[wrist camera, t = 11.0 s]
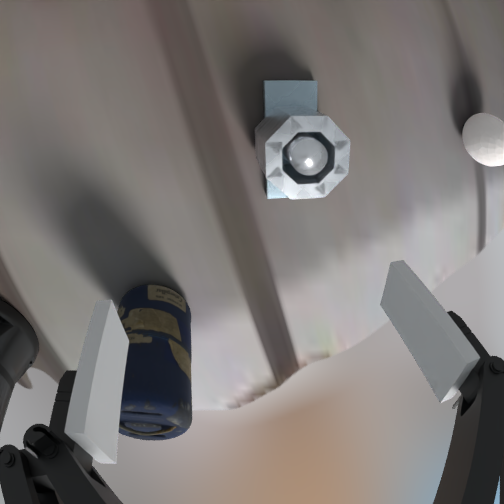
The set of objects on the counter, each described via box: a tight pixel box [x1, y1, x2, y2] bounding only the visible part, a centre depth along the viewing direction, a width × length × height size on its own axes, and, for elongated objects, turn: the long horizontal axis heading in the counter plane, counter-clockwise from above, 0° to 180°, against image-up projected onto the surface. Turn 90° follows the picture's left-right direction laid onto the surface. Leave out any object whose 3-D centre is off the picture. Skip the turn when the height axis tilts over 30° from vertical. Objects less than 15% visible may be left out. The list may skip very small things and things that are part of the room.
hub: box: [255, 106, 350, 199], centre depth 27 cm, size 7×7×6 cm
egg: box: [462, 113, 504, 166], centre depth 28 cm, size 6×6×8 cm
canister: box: [117, 285, 192, 440], centre depth 32 cm, size 10×10×18 cm
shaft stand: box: [263, 80, 328, 199], centre depth 27 cm, size 5×12×7 cm, turn 2°
